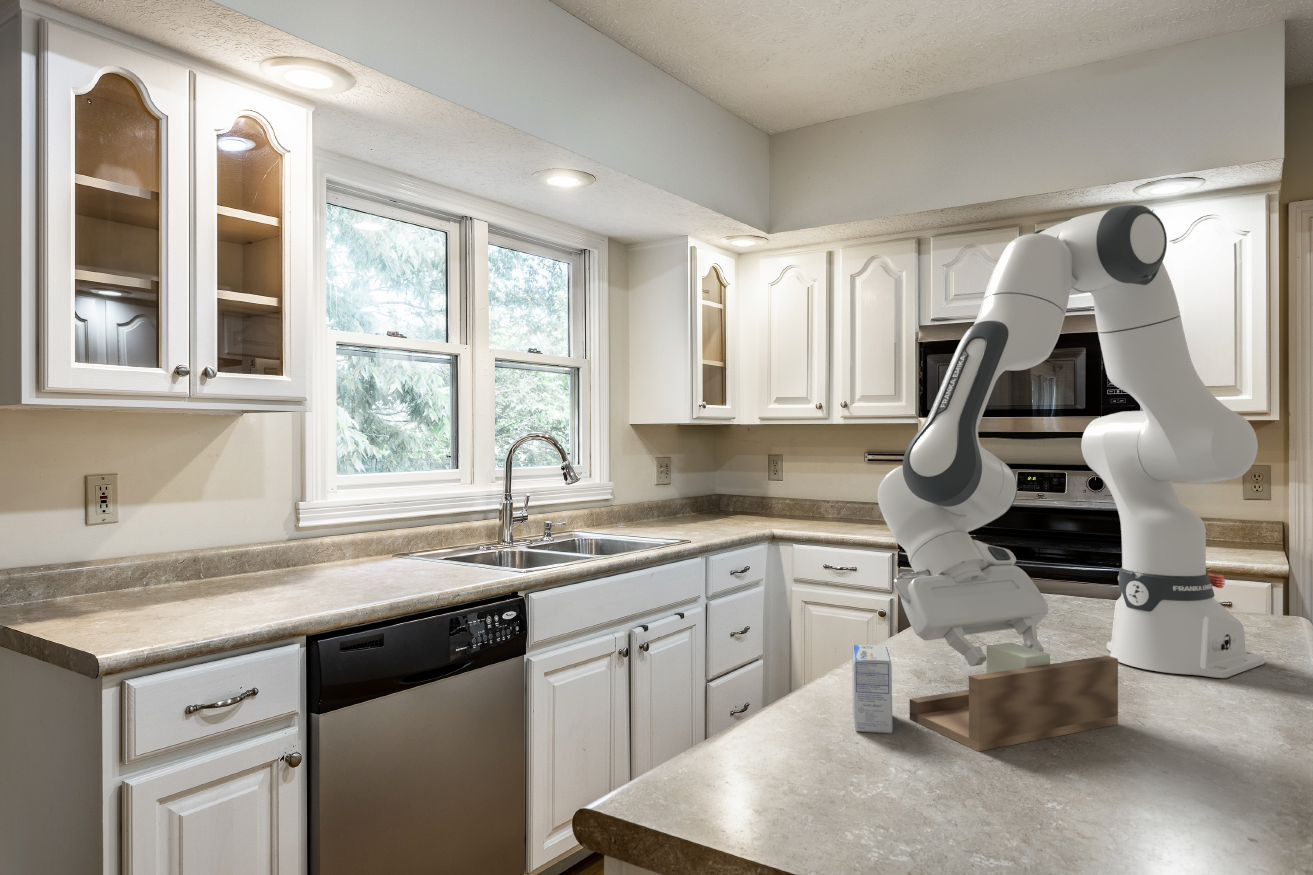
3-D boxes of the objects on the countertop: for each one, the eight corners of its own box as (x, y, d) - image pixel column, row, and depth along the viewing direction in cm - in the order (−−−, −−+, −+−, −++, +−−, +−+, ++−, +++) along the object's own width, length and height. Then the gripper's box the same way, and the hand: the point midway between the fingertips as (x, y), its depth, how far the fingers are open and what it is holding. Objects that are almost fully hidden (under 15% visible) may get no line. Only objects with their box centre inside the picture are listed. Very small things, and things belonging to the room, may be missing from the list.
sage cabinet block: (1010, 705, 105) (1010, 642, 105) (1050, 720, 99) (1050, 653, 99) (986, 709, 103) (986, 645, 103) (1025, 725, 98) (1025, 657, 98)
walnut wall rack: (1040, 696, 112) (1040, 637, 112) (1118, 724, 101) (1118, 658, 101) (909, 718, 103) (909, 654, 103) (978, 751, 92) (978, 679, 92)
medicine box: (892, 735, 98) (892, 661, 98) (853, 732, 99) (853, 659, 99) (887, 713, 105) (887, 644, 105) (851, 710, 106) (851, 643, 106)
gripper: (900, 559, 106) (956, 654, 97) (1020, 549, 114) (1082, 636, 105) (877, 588, 110) (929, 682, 101) (995, 576, 118) (1053, 662, 109)
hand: (1008, 658), depth 103 cm, fingers open, 8 cm apart
